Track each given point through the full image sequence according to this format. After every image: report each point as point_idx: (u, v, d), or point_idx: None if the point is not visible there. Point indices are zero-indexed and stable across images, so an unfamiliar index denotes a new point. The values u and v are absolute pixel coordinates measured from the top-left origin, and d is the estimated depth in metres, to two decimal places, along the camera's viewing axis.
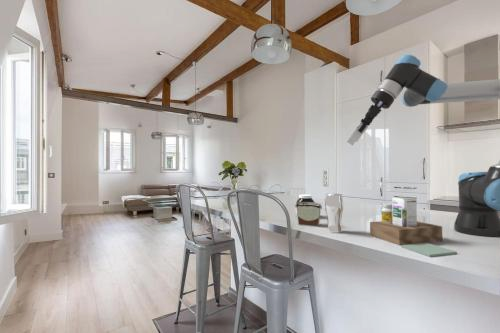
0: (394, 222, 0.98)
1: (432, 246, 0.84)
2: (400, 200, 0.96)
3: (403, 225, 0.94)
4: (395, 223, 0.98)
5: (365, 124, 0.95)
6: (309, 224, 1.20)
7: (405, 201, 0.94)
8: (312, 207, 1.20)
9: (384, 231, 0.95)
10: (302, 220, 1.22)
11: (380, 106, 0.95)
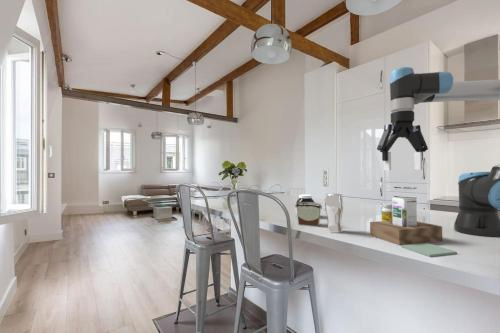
0: (394, 222, 0.98)
1: (432, 246, 0.84)
2: (400, 200, 0.96)
3: (403, 225, 0.94)
4: (395, 223, 0.98)
5: (383, 152, 0.96)
6: (309, 224, 1.20)
7: (405, 201, 0.94)
8: (312, 207, 1.20)
9: (384, 231, 0.95)
10: (302, 220, 1.22)
11: (387, 129, 0.96)
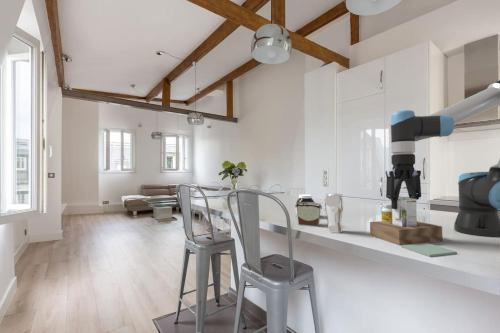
0: (394, 222, 0.98)
1: (432, 246, 0.84)
2: (400, 200, 0.96)
3: (403, 225, 0.94)
4: (395, 223, 0.98)
5: (393, 200, 0.96)
6: (309, 224, 1.20)
7: (405, 201, 0.94)
8: (312, 207, 1.20)
9: (384, 231, 0.95)
10: (302, 220, 1.22)
11: (390, 176, 0.95)
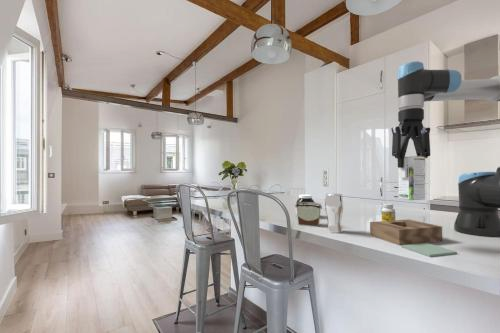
0: (400, 182, 0.92)
1: (432, 246, 0.84)
2: None
3: (410, 184, 0.88)
4: (401, 183, 0.92)
5: (399, 158, 0.90)
6: (309, 224, 1.20)
7: (412, 158, 0.88)
8: (312, 207, 1.20)
9: (384, 231, 0.95)
10: (302, 220, 1.22)
11: (396, 132, 0.89)
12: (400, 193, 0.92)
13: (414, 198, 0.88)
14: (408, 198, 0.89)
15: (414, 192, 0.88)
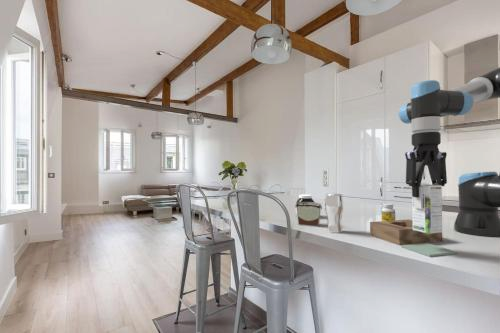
0: (415, 213, 0.84)
1: (432, 246, 0.84)
2: None
3: (426, 216, 0.80)
4: (416, 214, 0.83)
5: (414, 187, 0.81)
6: (309, 224, 1.20)
7: (429, 187, 0.80)
8: (312, 207, 1.20)
9: (384, 231, 0.95)
10: (302, 220, 1.22)
11: (411, 158, 0.81)
12: (414, 225, 0.84)
13: (431, 231, 0.80)
14: (424, 231, 0.80)
15: (431, 225, 0.80)
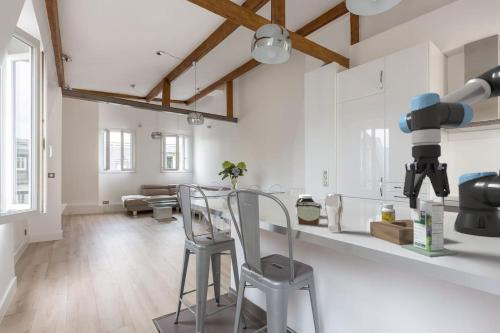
0: (416, 229, 0.84)
1: None
2: (423, 204, 0.81)
3: (427, 233, 0.80)
4: (417, 231, 0.83)
5: (411, 198, 0.81)
6: (309, 224, 1.20)
7: (430, 205, 0.80)
8: (312, 207, 1.20)
9: (384, 231, 0.95)
10: (302, 220, 1.22)
11: (411, 169, 0.81)
12: (415, 241, 0.84)
13: (432, 249, 0.80)
14: (425, 248, 0.80)
15: (432, 243, 0.80)
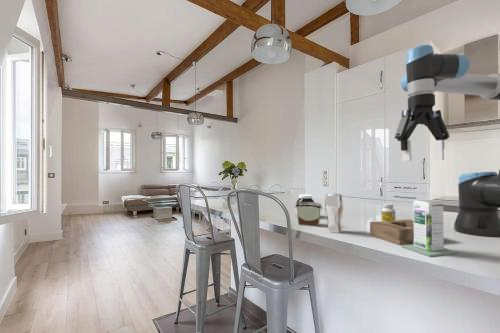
0: (416, 229, 0.84)
1: None
2: (423, 204, 0.81)
3: (427, 233, 0.80)
4: (417, 231, 0.83)
5: (402, 140, 0.85)
6: (309, 224, 1.20)
7: (430, 205, 0.80)
8: (312, 207, 1.20)
9: (384, 231, 0.95)
10: (302, 220, 1.22)
11: (406, 114, 0.85)
12: (415, 241, 0.84)
13: (432, 249, 0.80)
14: (425, 248, 0.80)
15: (432, 243, 0.80)
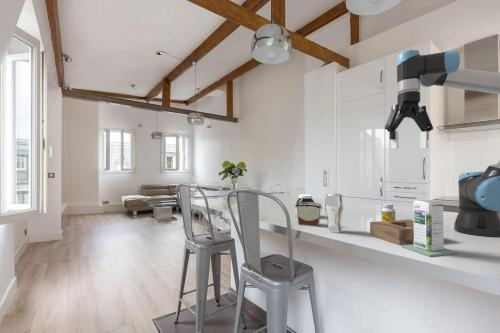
0: (416, 229, 0.84)
1: None
2: (423, 204, 0.81)
3: (427, 233, 0.80)
4: (417, 231, 0.83)
5: (391, 131, 1.00)
6: (309, 224, 1.20)
7: (430, 205, 0.80)
8: (312, 207, 1.20)
9: (384, 231, 0.95)
10: (302, 220, 1.22)
11: (395, 109, 1.00)
12: (415, 241, 0.84)
13: (432, 249, 0.80)
14: (425, 248, 0.80)
15: (432, 243, 0.80)
